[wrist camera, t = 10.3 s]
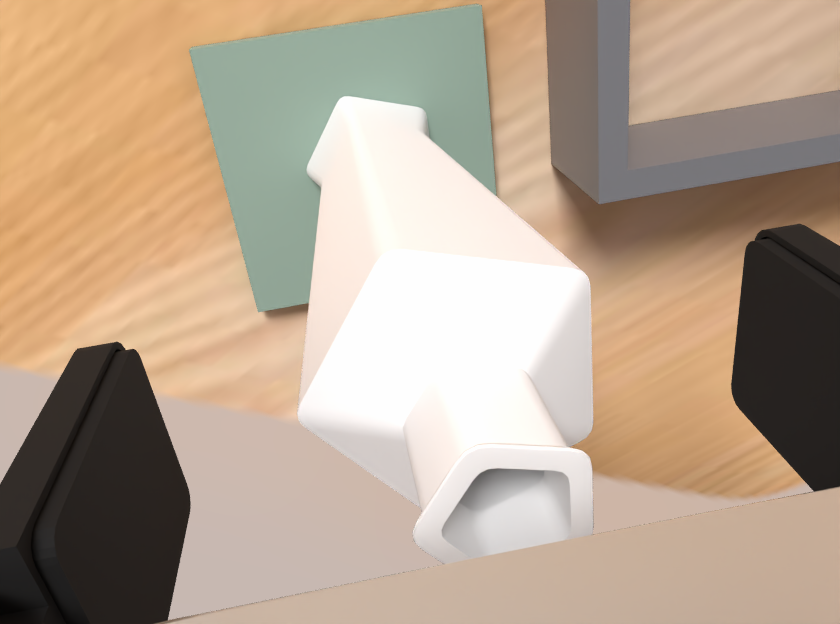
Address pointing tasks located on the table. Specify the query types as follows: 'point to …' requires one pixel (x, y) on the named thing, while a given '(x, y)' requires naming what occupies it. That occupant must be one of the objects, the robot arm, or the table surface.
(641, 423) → the table surface
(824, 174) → the table surface
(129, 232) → the table surface
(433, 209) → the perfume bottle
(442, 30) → the mat
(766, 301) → the robot arm
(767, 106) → the bin
